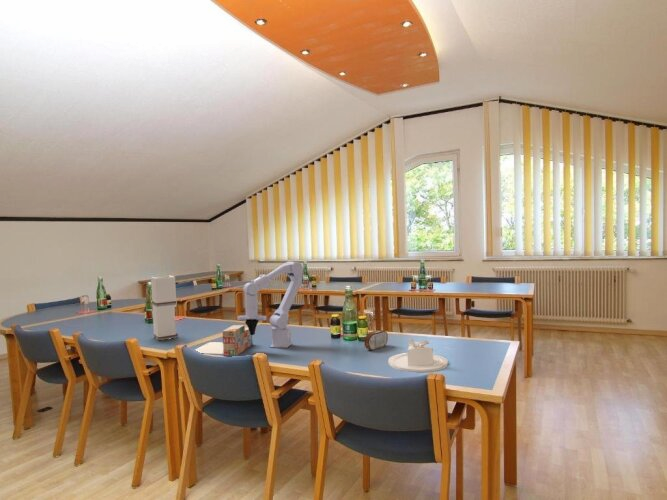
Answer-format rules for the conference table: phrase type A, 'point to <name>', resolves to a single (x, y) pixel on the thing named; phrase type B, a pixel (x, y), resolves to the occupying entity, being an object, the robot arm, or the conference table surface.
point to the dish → (418, 358)
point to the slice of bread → (376, 339)
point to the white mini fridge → (164, 307)
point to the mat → (211, 348)
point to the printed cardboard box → (236, 340)
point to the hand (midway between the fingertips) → (252, 334)
